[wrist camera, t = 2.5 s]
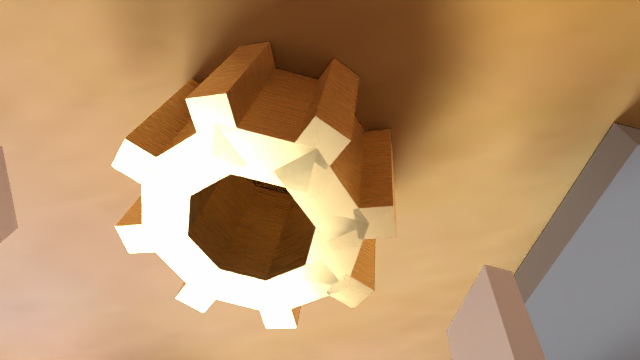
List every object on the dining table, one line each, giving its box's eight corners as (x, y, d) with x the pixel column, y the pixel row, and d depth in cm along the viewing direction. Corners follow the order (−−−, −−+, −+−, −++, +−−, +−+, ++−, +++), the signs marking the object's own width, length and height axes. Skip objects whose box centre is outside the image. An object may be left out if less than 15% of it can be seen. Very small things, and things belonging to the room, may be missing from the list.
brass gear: (183, 19, 13) (105, 62, 10) (419, 79, 14) (434, 146, 10) (175, 209, 18) (118, 292, 14) (357, 254, 18) (350, 349, 14)
